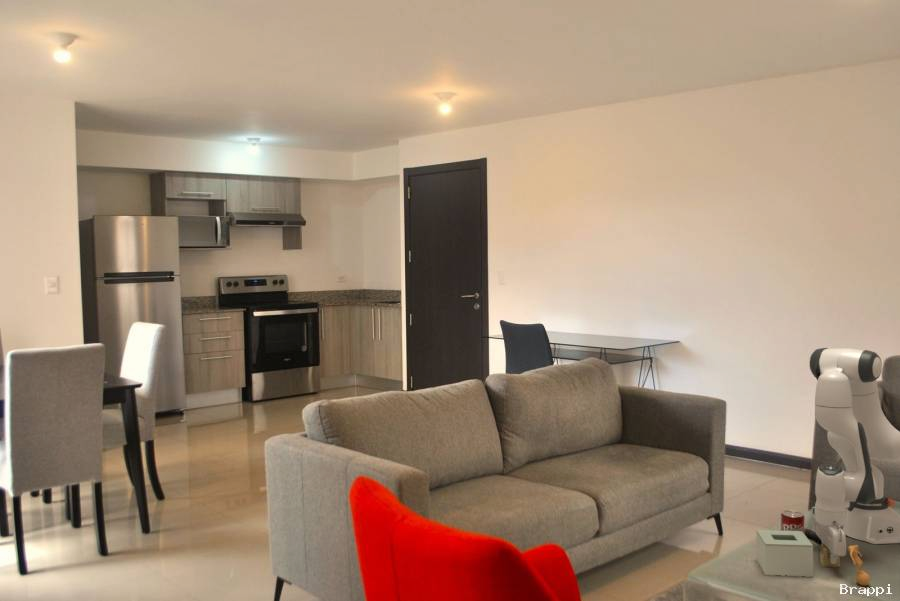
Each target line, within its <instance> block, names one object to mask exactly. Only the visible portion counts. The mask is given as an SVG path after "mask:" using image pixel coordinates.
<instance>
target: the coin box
mask: <svg viewBox="0 0 900 601" xmlns="http://www.w3.org/2000/svg"><path fill="white" fill-rule="evenodd" d="M756 561H757V563H758V565H759V567H760V568H761V570H762V572H763V574H764V575H765V576H775V575H781V576H780V577H782V576H783V577H802V576H805V577H806V578H812V577H814V545H813V543H812V542H811V540H809V538H808V537H807V536H806V534H805V532H804V533H803V532H802V531H781V530H776V529H775V530H774V529H773V530H771V529H768V530H767V529H766V530H765V529H756ZM785 575H787V576H785ZM805 577H804V578H805Z"/></svg>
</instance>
